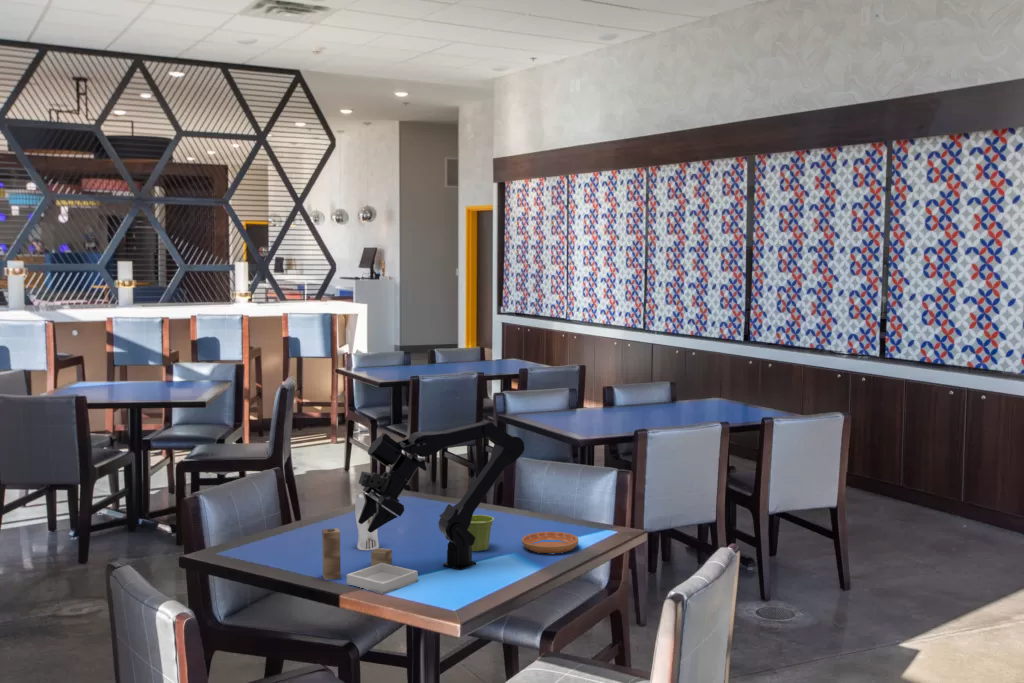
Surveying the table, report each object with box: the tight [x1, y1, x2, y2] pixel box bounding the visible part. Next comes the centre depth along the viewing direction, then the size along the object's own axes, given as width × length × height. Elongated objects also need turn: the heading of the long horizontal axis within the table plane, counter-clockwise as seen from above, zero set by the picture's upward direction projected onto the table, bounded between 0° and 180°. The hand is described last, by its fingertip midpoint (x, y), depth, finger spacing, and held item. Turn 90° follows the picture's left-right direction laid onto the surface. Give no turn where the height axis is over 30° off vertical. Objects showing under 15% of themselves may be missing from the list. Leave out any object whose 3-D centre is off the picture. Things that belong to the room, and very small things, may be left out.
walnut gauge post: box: [321, 527, 342, 580], centre depth 243 cm, size 4×4×12 cm
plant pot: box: [468, 514, 495, 552], centre depth 269 cm, size 9×9×9 cm
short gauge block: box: [370, 547, 393, 567], centre depth 254 cm, size 4×4×4 cm
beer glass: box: [354, 492, 380, 551], centre depth 270 cm, size 7×7×15 cm
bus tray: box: [346, 563, 419, 595], centre depth 238 cm, size 12×12×3 cm
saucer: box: [521, 531, 580, 554], centre depth 270 cm, size 16×16×3 cm
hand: (364, 527), depth 242 cm, fingers open, 9 cm apart
